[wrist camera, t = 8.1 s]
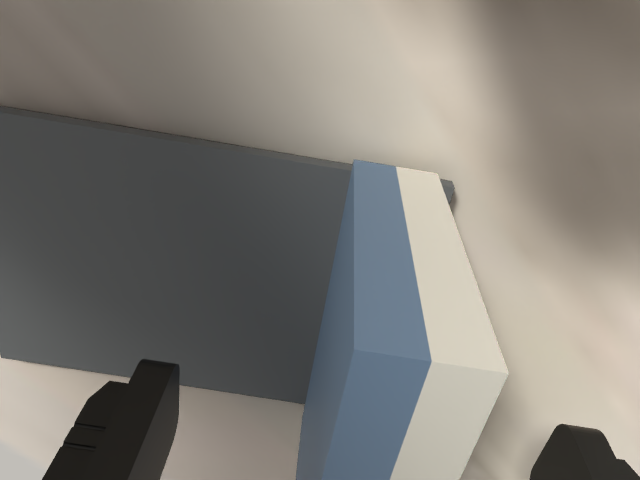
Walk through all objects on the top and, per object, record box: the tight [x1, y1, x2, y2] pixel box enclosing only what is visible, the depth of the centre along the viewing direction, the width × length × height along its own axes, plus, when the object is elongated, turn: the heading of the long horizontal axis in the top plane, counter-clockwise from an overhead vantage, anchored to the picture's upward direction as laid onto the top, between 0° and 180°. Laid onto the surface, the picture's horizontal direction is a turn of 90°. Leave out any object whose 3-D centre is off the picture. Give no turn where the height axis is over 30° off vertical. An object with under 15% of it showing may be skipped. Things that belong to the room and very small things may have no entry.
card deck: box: [296, 160, 509, 480], centre depth 12 cm, size 6×2×9 cm
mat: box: [0, 106, 454, 404], centre depth 14 cm, size 8×12×1 cm, turn 81°
